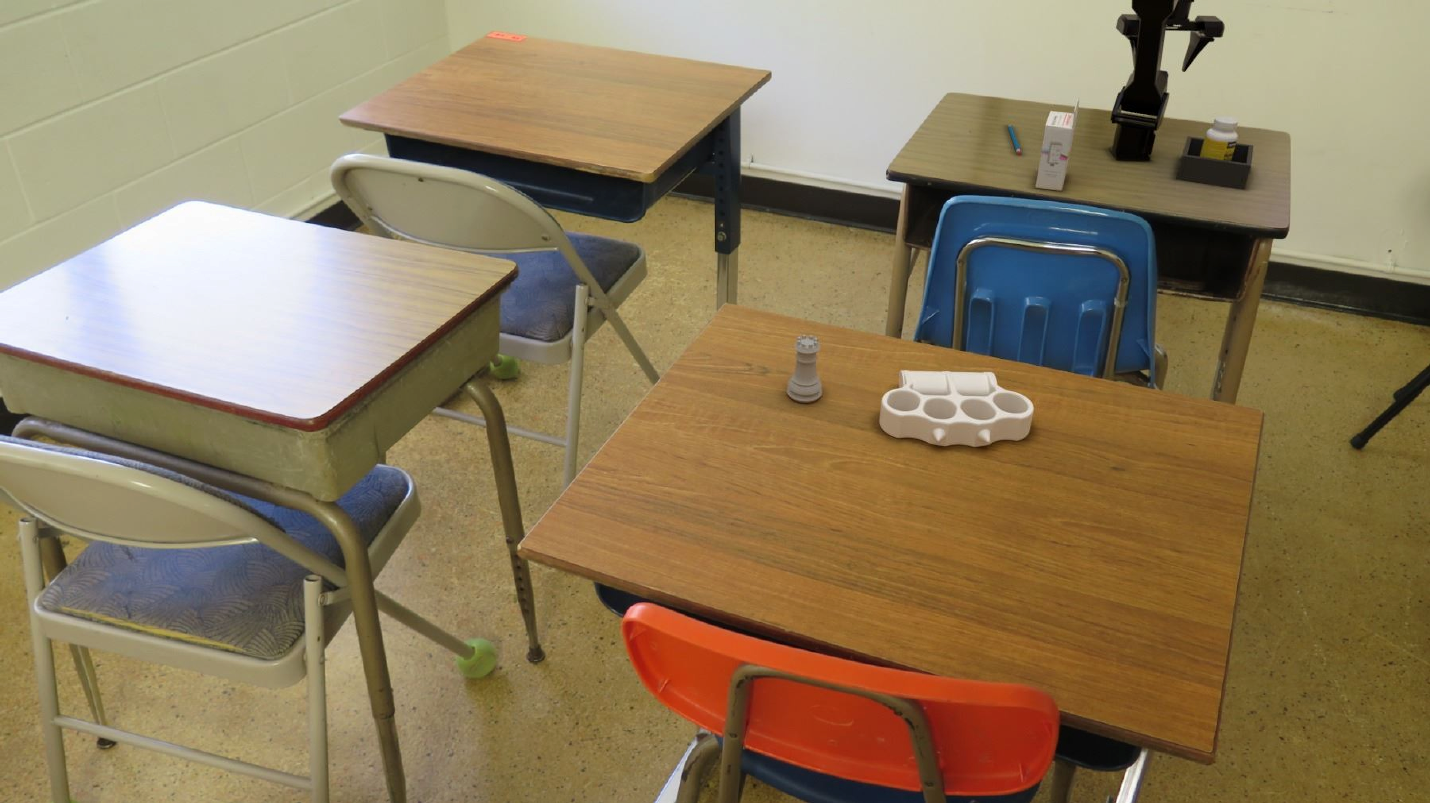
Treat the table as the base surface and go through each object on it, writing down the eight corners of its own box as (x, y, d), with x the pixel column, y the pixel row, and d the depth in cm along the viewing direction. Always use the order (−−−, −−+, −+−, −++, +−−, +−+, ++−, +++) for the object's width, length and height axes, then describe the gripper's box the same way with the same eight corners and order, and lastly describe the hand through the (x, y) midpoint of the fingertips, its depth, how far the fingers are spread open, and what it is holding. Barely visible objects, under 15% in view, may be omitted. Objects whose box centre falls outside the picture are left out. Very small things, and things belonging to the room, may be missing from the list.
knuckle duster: (1013, 387, 135) (1039, 455, 122) (872, 384, 135) (884, 452, 123) (1018, 365, 133) (1044, 432, 120) (874, 362, 133) (886, 428, 121)
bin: (1176, 179, 194) (1182, 155, 192) (1181, 158, 203) (1187, 136, 200) (1244, 189, 190) (1251, 165, 188) (1246, 168, 199) (1253, 145, 196)
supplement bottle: (1222, 178, 193) (1237, 126, 188) (1192, 171, 196) (1206, 120, 191) (1231, 170, 197) (1246, 118, 191) (1201, 163, 199) (1215, 112, 194)
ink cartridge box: (1038, 171, 197) (1052, 93, 189) (1066, 175, 195) (1081, 96, 187) (1033, 188, 190) (1048, 107, 182) (1062, 192, 189) (1077, 111, 181)
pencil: (1016, 155, 204) (1017, 151, 204) (1006, 126, 218) (1007, 122, 218) (1021, 155, 204) (1021, 152, 204) (1010, 126, 218) (1011, 123, 218)
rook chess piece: (784, 385, 135) (786, 331, 130) (818, 384, 135) (822, 330, 131) (789, 405, 131) (792, 349, 127) (824, 403, 131) (828, 348, 127)
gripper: (1215, -21, 204) (1195, 60, 213) (1117, -23, 205) (1101, 58, 214) (1235, -8, 195) (1213, 76, 204) (1132, -10, 196) (1114, 74, 205)
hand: (1159, 70), depth 207 cm, fingers open, 9 cm apart
